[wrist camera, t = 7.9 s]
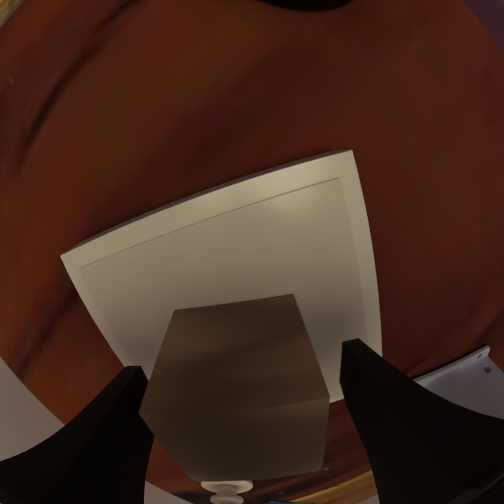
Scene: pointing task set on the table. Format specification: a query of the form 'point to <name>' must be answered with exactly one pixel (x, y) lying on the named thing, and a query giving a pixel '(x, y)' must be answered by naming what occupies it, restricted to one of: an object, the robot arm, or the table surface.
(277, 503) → the ink box
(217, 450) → the block
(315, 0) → the supplement bottle
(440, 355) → the table surface
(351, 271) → the plate
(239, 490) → the candle
